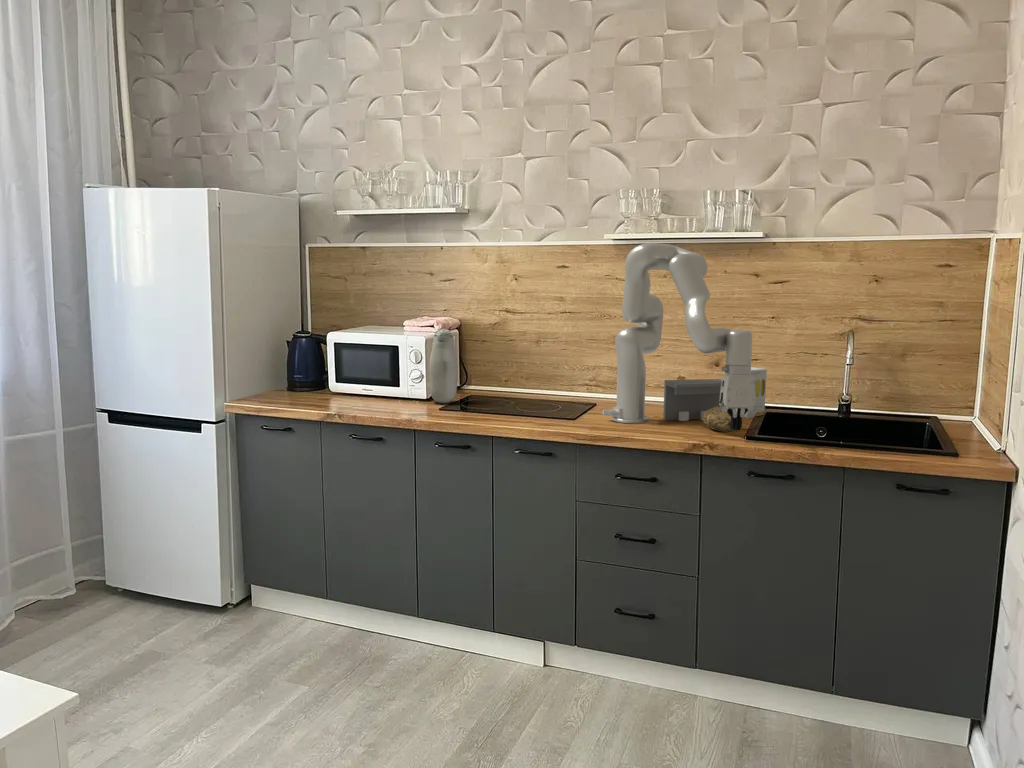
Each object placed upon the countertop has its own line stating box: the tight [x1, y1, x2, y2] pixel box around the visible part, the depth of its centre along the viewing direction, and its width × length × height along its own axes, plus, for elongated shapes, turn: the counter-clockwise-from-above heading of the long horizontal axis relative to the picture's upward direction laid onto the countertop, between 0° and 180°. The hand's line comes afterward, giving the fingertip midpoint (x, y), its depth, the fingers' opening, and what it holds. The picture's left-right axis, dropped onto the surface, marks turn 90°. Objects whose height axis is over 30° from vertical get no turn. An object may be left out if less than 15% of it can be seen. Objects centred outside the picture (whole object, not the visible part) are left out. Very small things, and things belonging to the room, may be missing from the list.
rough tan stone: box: [702, 405, 739, 433], centre depth 269 cm, size 13×8×20 cm
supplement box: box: [736, 366, 768, 419], centre depth 294 cm, size 10×9×17 cm
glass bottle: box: [429, 328, 458, 404], centre depth 315 cm, size 10×10×28 cm
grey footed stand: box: [662, 378, 722, 422], centre depth 283 cm, size 20×10×14 cm, turn 103°
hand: (735, 429), depth 257 cm, fingers closed
